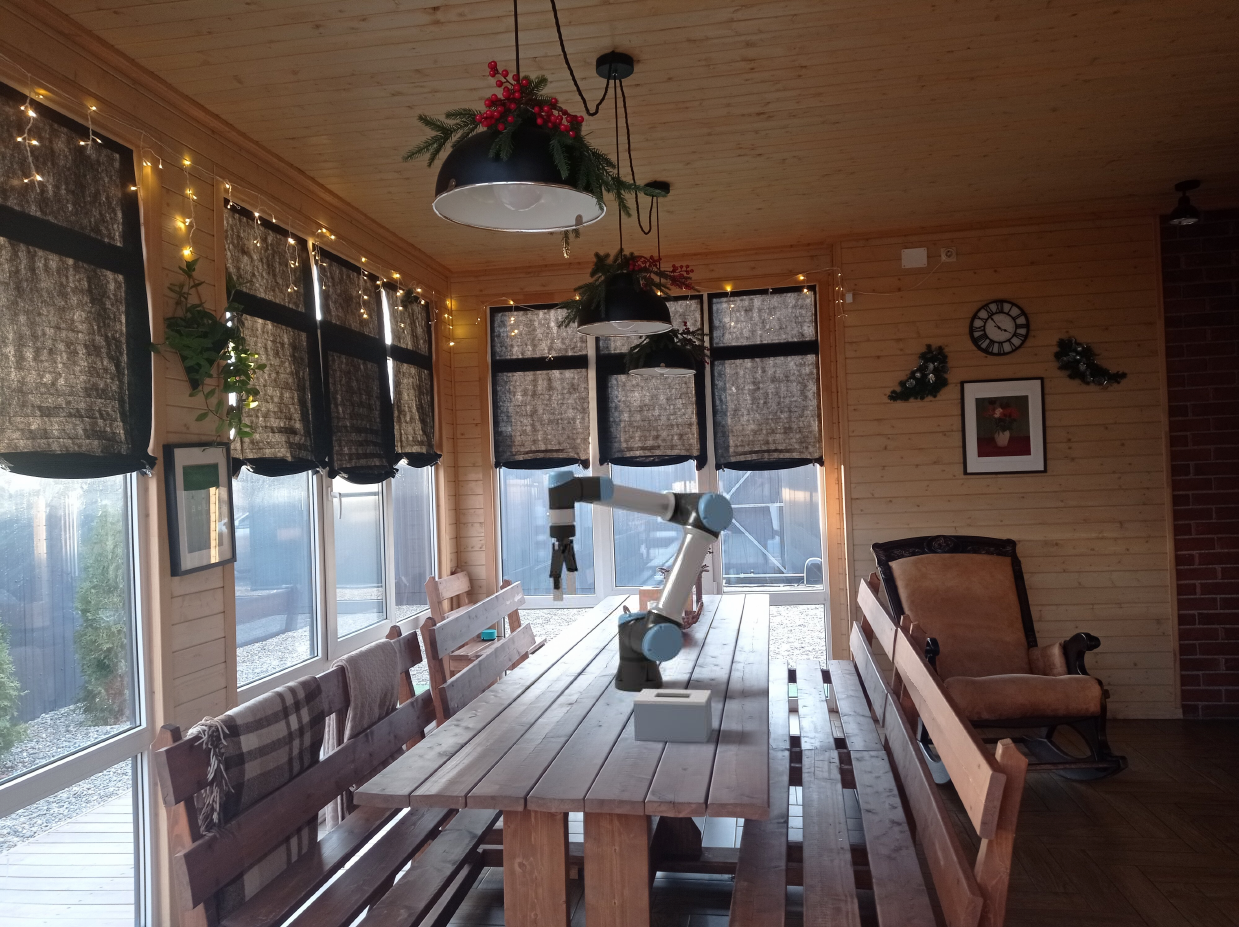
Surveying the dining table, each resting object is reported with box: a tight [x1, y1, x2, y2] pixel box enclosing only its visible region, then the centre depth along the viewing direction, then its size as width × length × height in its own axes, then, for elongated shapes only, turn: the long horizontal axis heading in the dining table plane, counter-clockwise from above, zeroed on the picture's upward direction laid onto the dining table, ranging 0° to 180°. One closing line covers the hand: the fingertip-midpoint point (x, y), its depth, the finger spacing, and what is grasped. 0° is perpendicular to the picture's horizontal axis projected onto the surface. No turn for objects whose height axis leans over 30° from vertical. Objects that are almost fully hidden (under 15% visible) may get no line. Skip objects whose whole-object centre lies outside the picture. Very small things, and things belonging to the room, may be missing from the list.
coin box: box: [632, 688, 713, 744], centre depth 234 cm, size 12×18×10 cm, turn 77°
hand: (564, 597), depth 264 cm, fingers open, 13 cm apart
